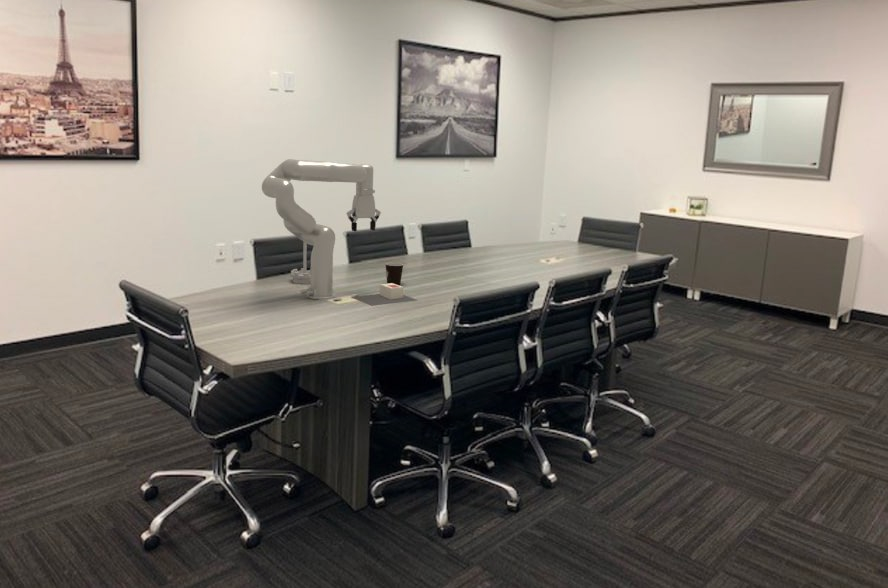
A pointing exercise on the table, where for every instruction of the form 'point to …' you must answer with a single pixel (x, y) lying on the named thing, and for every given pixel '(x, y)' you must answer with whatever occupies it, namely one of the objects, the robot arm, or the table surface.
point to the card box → (391, 291)
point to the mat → (381, 299)
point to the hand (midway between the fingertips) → (363, 230)
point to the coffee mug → (394, 273)
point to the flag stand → (302, 270)
